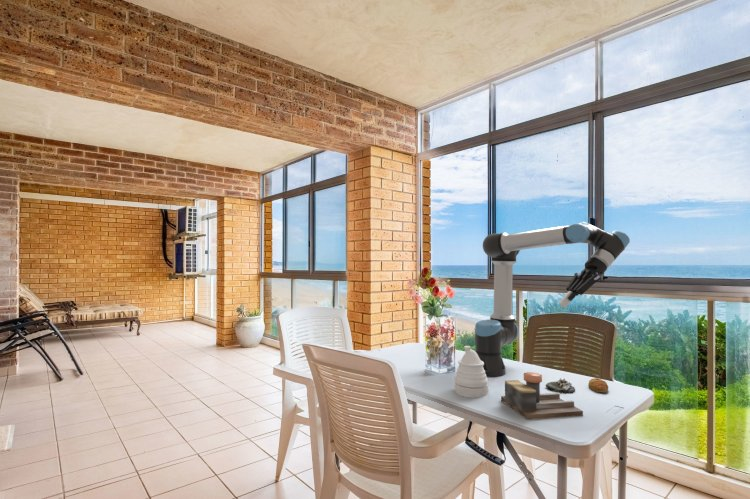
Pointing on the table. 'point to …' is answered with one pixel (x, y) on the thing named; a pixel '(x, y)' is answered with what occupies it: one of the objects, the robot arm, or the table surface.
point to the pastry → (598, 385)
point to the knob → (534, 383)
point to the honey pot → (471, 376)
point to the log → (561, 386)
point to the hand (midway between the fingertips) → (561, 305)
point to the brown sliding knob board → (526, 405)
